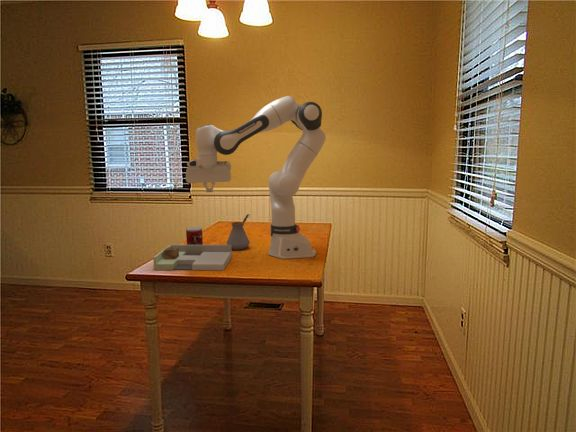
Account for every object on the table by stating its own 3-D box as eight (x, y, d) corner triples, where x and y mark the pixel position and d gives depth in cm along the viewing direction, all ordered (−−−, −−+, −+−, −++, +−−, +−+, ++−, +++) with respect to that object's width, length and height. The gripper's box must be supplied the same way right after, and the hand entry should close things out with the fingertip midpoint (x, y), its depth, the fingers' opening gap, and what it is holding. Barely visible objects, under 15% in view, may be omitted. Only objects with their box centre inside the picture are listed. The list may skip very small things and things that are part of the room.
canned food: (187, 252, 192) (186, 230, 191) (186, 248, 200) (185, 227, 198) (203, 251, 194) (202, 229, 193) (202, 247, 202) (201, 226, 200)
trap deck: (231, 256, 186) (231, 244, 185) (223, 270, 165) (223, 257, 164) (170, 256, 187) (169, 244, 186) (154, 270, 166) (153, 257, 165)
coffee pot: (244, 251, 194) (243, 221, 191) (222, 250, 197) (221, 220, 194) (259, 241, 214) (258, 214, 212) (239, 240, 217) (238, 213, 215)
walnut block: (178, 256, 178) (178, 247, 177) (175, 259, 173) (175, 250, 172) (167, 256, 178) (167, 247, 177) (164, 259, 173) (163, 250, 172)
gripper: (231, 160, 183) (233, 190, 186) (187, 162, 184) (189, 192, 186) (229, 161, 177) (231, 192, 180) (183, 162, 177) (186, 193, 180)
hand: (209, 192), depth 183 cm, fingers closed
